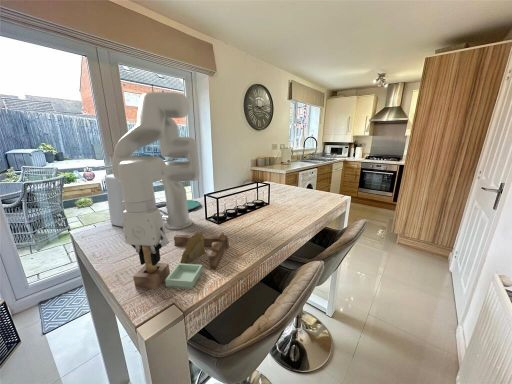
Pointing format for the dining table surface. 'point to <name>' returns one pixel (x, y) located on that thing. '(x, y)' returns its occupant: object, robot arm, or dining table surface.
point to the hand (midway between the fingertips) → (150, 262)
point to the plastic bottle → (115, 200)
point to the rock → (193, 248)
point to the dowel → (148, 260)
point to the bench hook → (208, 246)
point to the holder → (151, 277)
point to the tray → (184, 276)
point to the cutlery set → (189, 205)
